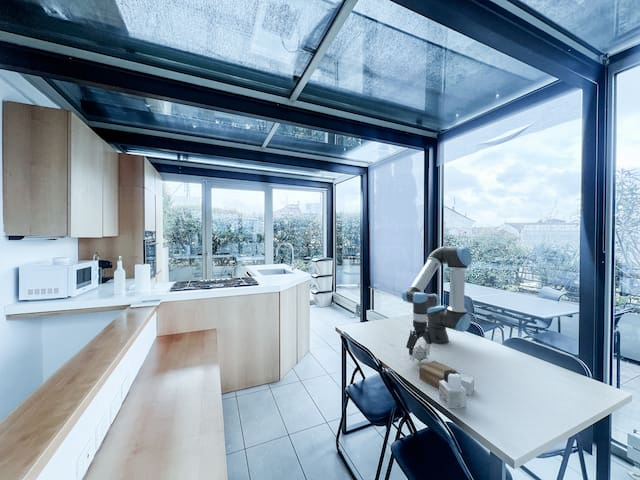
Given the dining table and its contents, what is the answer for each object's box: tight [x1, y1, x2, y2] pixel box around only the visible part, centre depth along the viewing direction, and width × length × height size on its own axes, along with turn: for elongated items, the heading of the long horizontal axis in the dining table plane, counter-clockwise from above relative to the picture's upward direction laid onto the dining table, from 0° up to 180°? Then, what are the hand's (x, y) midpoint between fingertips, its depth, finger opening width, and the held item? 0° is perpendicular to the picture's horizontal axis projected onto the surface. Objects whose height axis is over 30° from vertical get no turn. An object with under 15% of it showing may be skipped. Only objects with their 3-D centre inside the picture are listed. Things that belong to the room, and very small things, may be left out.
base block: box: [418, 360, 457, 390], centre depth 129 cm, size 12×12×6 cm
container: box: [438, 370, 467, 409], centre depth 112 cm, size 8×8×13 cm
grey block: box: [459, 373, 475, 397], centre depth 120 cm, size 6×6×6 cm
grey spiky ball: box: [413, 344, 429, 363], centre depth 148 cm, size 9×8×10 cm
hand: (419, 357), depth 148 cm, fingers open, 13 cm apart
